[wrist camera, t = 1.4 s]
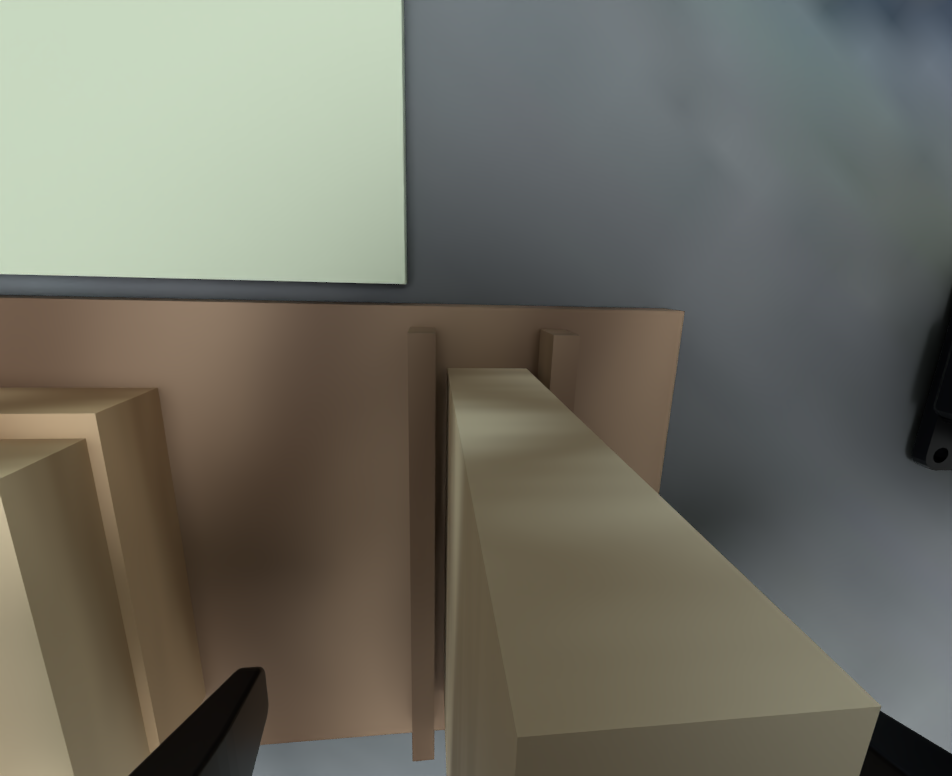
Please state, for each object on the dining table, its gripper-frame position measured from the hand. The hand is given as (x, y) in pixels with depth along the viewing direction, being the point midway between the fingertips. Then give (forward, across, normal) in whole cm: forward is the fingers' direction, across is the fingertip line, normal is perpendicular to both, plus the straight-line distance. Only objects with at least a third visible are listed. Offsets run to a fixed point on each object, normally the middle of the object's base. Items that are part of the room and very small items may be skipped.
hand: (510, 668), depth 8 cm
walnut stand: (+5, +5, 0) cm, 7 cm away
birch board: (+4, 0, 0) cm, 4 cm away
